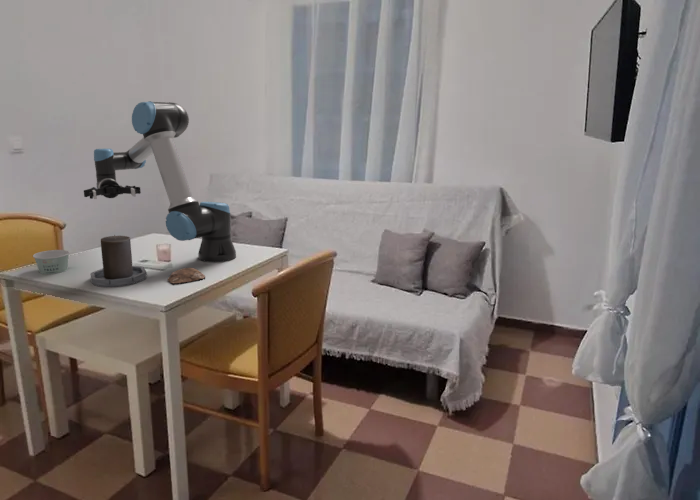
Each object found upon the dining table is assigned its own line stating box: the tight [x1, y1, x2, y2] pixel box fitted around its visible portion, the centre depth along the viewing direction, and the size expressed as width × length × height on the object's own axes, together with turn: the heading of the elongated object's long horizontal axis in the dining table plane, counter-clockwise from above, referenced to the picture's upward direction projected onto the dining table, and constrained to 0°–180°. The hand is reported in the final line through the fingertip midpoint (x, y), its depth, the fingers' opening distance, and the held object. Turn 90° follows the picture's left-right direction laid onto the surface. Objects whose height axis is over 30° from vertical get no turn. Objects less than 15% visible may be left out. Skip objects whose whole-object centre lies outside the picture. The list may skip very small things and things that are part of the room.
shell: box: [167, 267, 206, 285], centre depth 186 cm, size 12×13×4 cm
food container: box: [32, 249, 71, 275], centre depth 192 cm, size 12×12×6 cm
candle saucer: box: [90, 265, 148, 288], centre depth 184 cm, size 18×18×2 cm
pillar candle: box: [100, 234, 133, 280], centre depth 182 cm, size 10×10×15 cm
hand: (115, 194), depth 195 cm, fingers open, 13 cm apart
